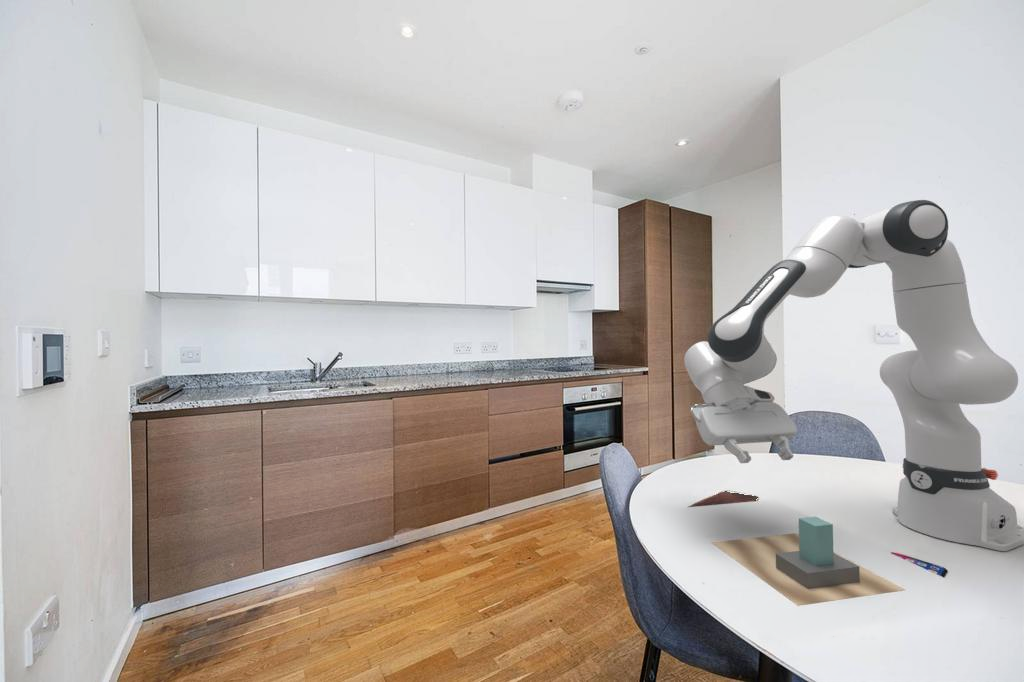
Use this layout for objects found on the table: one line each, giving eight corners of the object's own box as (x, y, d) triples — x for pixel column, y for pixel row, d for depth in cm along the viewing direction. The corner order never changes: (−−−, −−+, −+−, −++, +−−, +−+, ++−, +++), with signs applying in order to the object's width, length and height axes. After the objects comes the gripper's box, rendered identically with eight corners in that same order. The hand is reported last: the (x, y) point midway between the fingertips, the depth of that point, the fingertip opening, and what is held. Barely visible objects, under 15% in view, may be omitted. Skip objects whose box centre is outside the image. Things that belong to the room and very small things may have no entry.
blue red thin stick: (865, 576, 67) (890, 550, 75) (865, 580, 67) (891, 553, 75) (929, 598, 61) (948, 568, 69) (929, 603, 61) (949, 571, 69)
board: (797, 540, 80) (797, 532, 80) (905, 599, 61) (905, 589, 61) (711, 549, 76) (711, 542, 76) (798, 615, 58) (797, 605, 58)
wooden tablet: (725, 485, 109) (765, 491, 101) (726, 493, 109) (766, 499, 101) (676, 511, 93) (719, 520, 85) (677, 520, 93) (720, 530, 85)
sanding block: (824, 561, 69) (823, 511, 69) (859, 581, 63) (858, 526, 63) (776, 567, 67) (774, 516, 68) (807, 589, 61) (806, 532, 62)
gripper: (693, 395, 81) (728, 455, 71) (777, 392, 84) (822, 448, 75) (681, 413, 85) (712, 471, 75) (761, 409, 89) (801, 465, 79)
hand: (767, 460), depth 75 cm, fingers open, 8 cm apart
